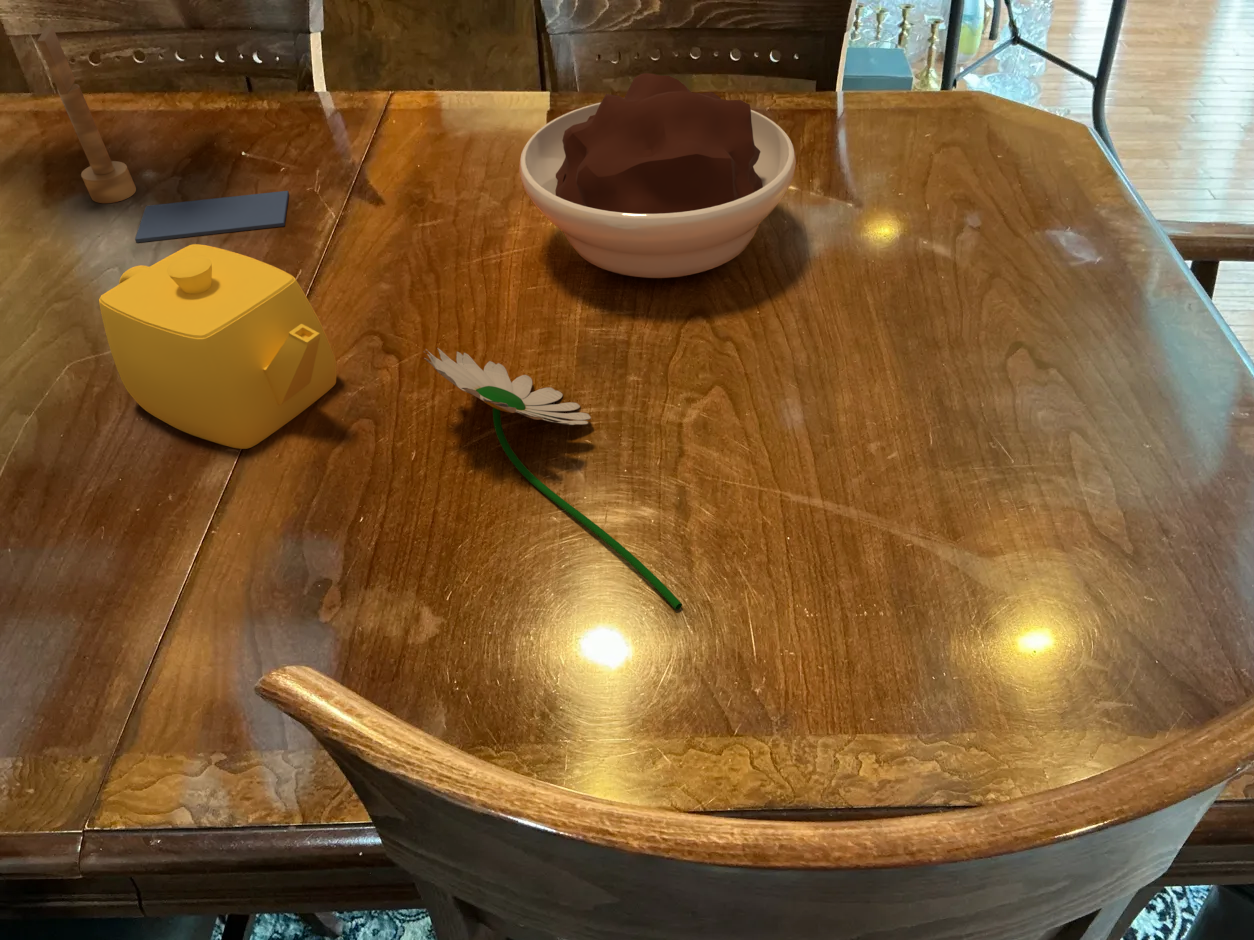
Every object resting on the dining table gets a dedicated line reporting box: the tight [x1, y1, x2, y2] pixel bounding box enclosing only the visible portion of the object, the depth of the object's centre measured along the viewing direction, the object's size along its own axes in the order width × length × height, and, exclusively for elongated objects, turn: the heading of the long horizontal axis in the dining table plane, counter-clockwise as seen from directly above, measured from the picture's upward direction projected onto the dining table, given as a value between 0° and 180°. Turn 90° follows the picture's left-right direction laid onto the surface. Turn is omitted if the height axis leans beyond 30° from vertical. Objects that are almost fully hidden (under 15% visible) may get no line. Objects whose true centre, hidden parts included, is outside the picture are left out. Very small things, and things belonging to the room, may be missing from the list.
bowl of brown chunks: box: [518, 72, 797, 279], centre depth 98 cm, size 25×25×15 cm
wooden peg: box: [36, 26, 137, 204], centre depth 107 cm, size 4×4×16 cm
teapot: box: [98, 243, 338, 450], centre depth 83 cm, size 20×12×12 cm, turn 61°
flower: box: [423, 347, 683, 611], centre depth 77 cm, size 13×6×30 cm
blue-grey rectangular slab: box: [134, 190, 290, 243], centre depth 108 cm, size 14×7×1 cm, turn 102°
